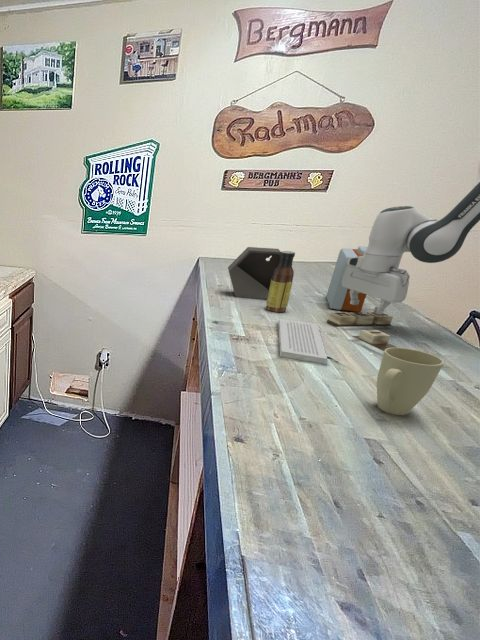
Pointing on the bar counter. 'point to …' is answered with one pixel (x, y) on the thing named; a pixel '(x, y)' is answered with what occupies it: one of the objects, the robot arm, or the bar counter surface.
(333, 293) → the orange grey tall block
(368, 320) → the s tile
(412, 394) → the mug
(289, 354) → the plaque
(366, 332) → the front rack
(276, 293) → the sauce bottle
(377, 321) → the back rack
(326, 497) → the bar counter surface
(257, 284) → the planter
